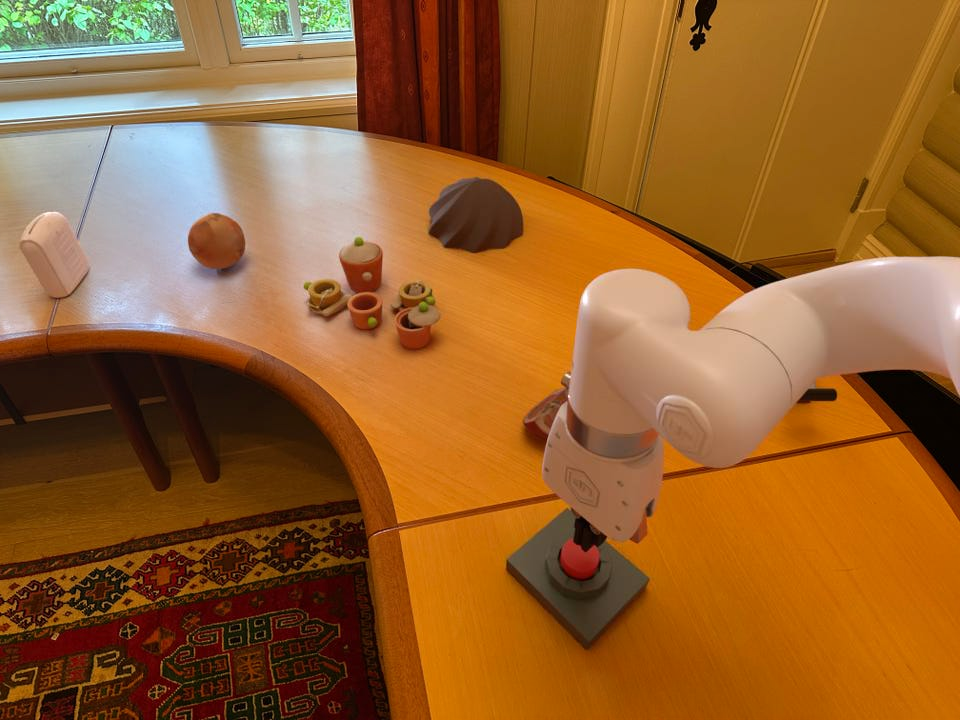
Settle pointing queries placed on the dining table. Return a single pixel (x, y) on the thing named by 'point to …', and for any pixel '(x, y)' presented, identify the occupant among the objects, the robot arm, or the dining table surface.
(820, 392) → the lever
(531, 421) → the fruit slice
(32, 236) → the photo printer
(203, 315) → the dining table surface
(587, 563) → the button
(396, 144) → the dining table surface
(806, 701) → the dining table surface
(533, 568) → the button box
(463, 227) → the decorative dome
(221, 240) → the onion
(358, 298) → the toy tea set
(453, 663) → the dining table surface
